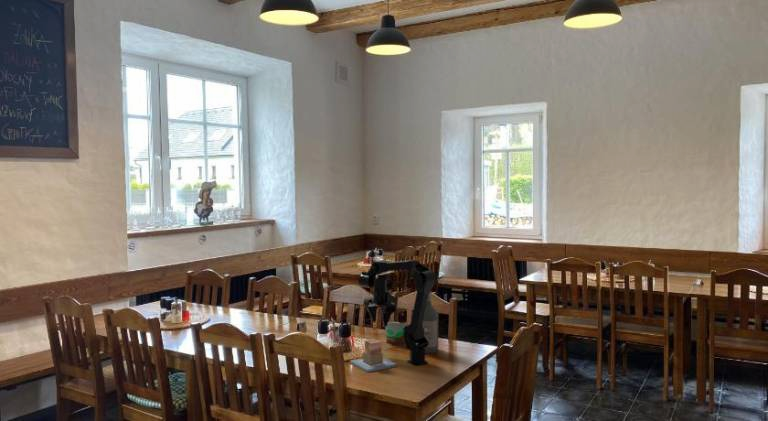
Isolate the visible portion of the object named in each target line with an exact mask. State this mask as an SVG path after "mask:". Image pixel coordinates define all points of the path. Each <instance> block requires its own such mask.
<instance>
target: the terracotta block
mask: <svg viewBox="0 0 768 421" xmlns="http://www.w3.org/2000/svg"><path fill="white" fill-rule="evenodd" d="M364 352H365V353H367V354H369V355H375V354H380V353H382V341H381V340H379V339H376V338H371V339H365V340H364Z"/></svg>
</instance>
